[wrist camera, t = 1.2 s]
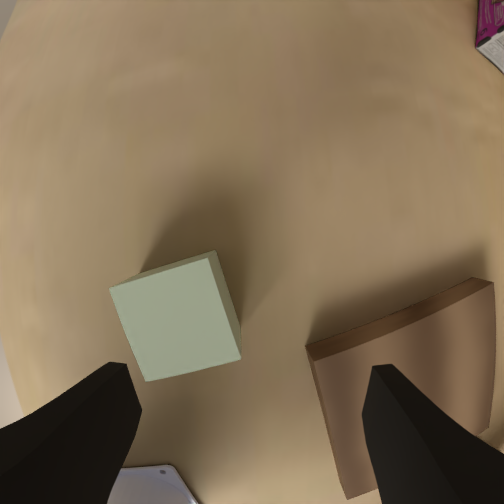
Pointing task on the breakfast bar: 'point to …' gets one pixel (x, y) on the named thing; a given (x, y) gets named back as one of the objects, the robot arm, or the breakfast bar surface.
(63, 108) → the breakfast bar surface
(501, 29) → the candy bar box
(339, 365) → the walnut block
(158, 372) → the sage cube
